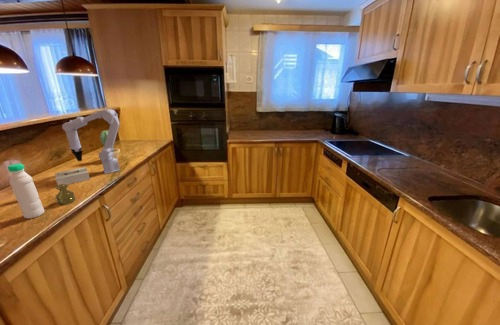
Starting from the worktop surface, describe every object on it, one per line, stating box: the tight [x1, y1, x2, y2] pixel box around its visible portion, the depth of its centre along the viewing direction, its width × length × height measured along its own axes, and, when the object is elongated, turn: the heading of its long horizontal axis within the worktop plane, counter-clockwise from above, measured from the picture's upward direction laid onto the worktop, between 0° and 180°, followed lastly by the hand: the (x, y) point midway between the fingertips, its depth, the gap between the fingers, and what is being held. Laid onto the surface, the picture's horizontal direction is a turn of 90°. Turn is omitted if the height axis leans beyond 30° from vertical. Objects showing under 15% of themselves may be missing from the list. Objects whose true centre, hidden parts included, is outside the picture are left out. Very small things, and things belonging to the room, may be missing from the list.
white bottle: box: [7, 163, 45, 220], centre depth 97 cm, size 7×7×25 cm
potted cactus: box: [98, 129, 121, 160], centre depth 175 cm, size 15×15×25 cm
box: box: [54, 166, 91, 186], centre depth 140 cm, size 16×14×5 cm
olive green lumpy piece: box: [55, 184, 76, 206], centre depth 111 cm, size 7×7×10 cm
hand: (79, 159), depth 147 cm, fingers open, 7 cm apart
